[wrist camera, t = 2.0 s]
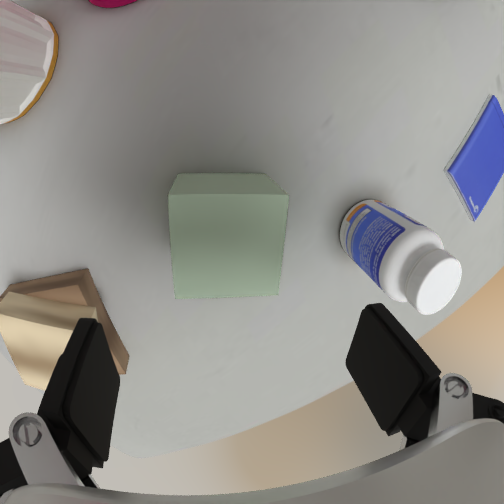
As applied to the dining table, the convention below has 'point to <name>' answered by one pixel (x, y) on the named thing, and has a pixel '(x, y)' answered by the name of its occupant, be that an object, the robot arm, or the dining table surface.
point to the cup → (24, 59)
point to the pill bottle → (400, 255)
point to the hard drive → (479, 159)
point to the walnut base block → (76, 292)
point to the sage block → (226, 234)
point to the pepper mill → (111, 3)
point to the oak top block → (38, 333)
